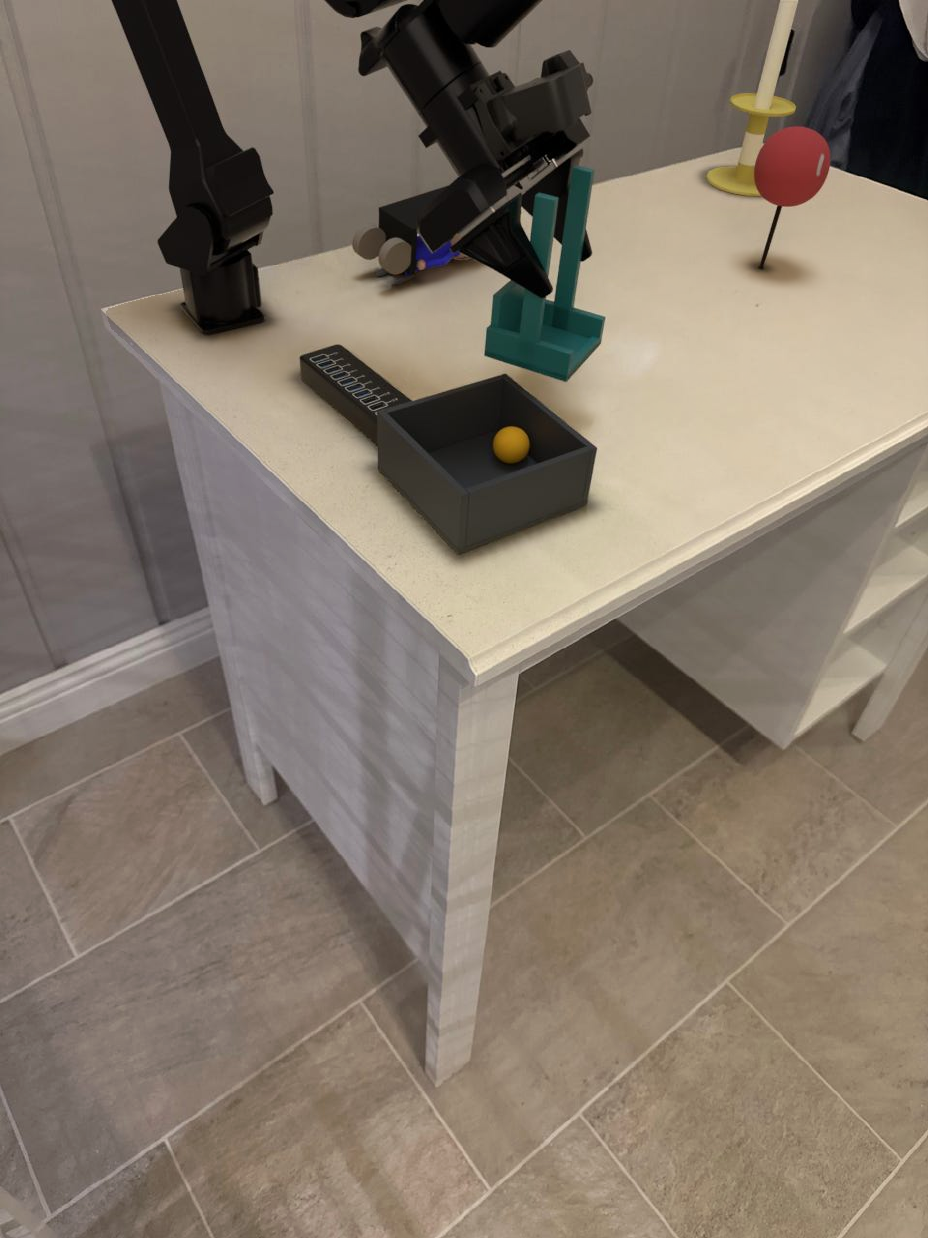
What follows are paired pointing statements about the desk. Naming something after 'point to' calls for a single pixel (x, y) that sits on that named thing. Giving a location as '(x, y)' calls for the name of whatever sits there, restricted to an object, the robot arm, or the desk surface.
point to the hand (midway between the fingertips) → (568, 276)
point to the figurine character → (402, 240)
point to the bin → (482, 461)
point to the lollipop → (790, 170)
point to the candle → (759, 110)
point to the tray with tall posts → (535, 325)
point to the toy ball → (511, 445)
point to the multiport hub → (349, 386)
